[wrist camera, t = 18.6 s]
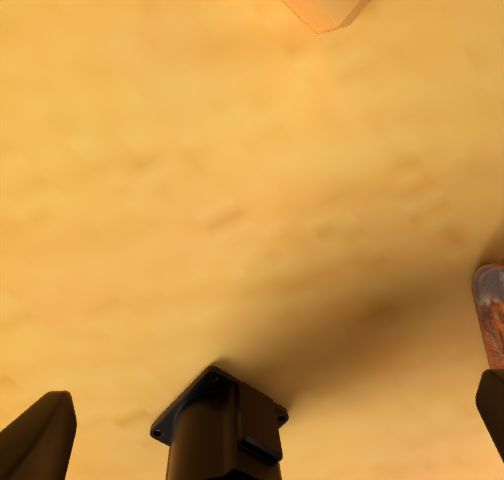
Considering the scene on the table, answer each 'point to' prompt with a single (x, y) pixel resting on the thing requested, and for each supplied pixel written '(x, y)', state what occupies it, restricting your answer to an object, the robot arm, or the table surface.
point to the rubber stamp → (327, 12)
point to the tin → (491, 309)
